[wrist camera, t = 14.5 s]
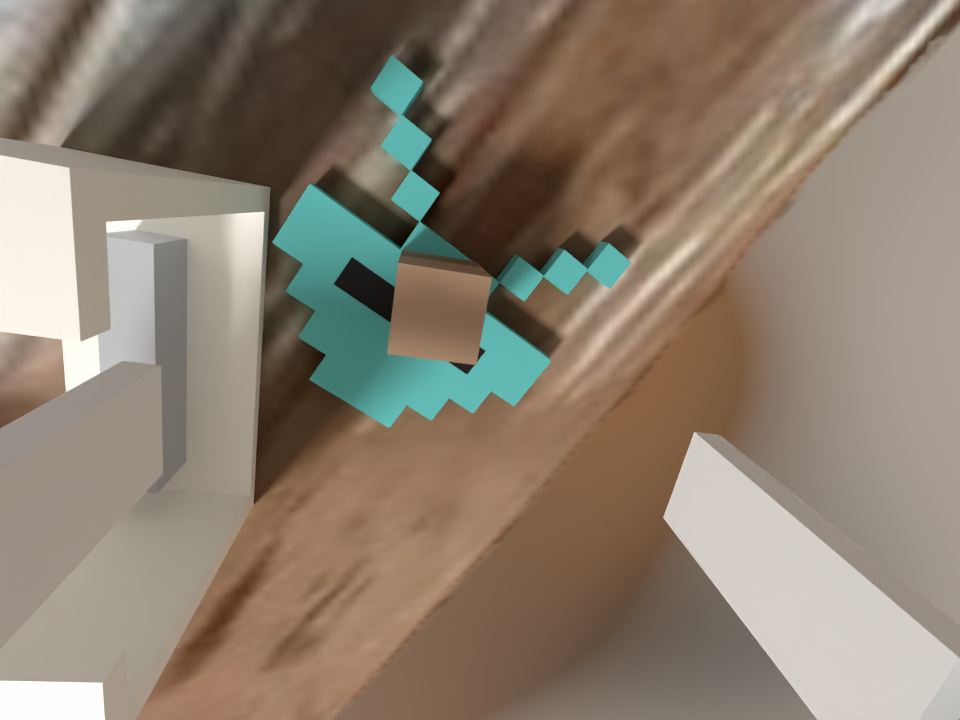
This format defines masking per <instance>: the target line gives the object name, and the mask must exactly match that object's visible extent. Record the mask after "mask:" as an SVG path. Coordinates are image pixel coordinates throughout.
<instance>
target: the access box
mask: <svg viewBox="0 0 960 720" xmlns="http://www.w3.org/2000/svg"><path fill="white" fill-rule="evenodd" d="M270 188H271V187H266V186H261V185H256V184H251V183H246V182H240V181H235V180H230V179H225V178H219V177H214V176H209V175H204V174H199V173H193V172H188V171H183V170H178V169H172V168H167V167H162V166H157V165H152V164H146V163H141V162H136V161H131V160H126V159H120V158H115V157H110V156H105V155H99V154H94V153H89V152H84V151H79V150H73V149H68V148H63V147H57V146H51V145H44V144H37V143H31V142H24V141H18V140H11V139H5V138H0V331H1V332H9V333H16V334H24V335H32V336H40V337H47V338H55V339H62V345H63V358H64V371H65V384H66V392H67V391H69V390H71V389H73V388H74V387H76V386H78V385H80V384H82V383H83V382H85V381H87V380H89V379H91V378H93V377H94V376H96V375H98V374H100V373H102V372H103V371H105V370H107V369H109V368H111V367H112V366H114V365H116V364H118V363H120V362H121V361H128V362H136V363H144V364H152V365H160V366H161V390H162V449H163V474H162V475H161V476H160V477H159V478H158V480H157V481H156V482H155V483H154V484H153V485H152V486H151V487H150V488H149V489H148V490H147V491H146V492H145V494H144V495H143V496H142V497H141V498H140V499H139V500H138V501H137V502H136V503H135V504H134V505H133V507H132V508H131V509H130V510H129V511H128V512H127V513H126V514H125V515H124V516H123V517H122V518H121V519H120V521H119V522H118V523H117V524H116V525H115V526H114V527H113V528H112V529H111V530H110V531H109V532H108V534H107V535H106V536H105V537H104V538H103V539H102V540H101V541H100V542H99V543H98V544H97V545H96V546H95V548H94V549H93V550H92V551H91V552H90V553H89V554H88V555H87V556H86V557H85V558H84V559H83V561H82V562H81V563H80V564H79V565H78V566H77V567H76V568H75V569H74V570H73V571H72V572H71V573H70V575H69V576H68V577H67V578H66V579H65V580H64V581H63V582H62V583H61V584H60V585H59V586H58V588H57V589H56V590H55V591H54V592H53V593H52V594H51V595H50V596H49V597H48V598H47V599H46V600H45V602H44V603H43V604H42V605H41V606H40V607H39V608H38V609H37V610H36V611H35V612H34V613H33V615H32V616H31V617H30V618H29V619H28V620H27V621H26V622H25V623H24V624H23V625H22V626H21V628H20V629H19V630H18V631H17V632H16V633H15V634H14V635H13V636H12V637H11V638H10V639H9V640H8V642H7V643H6V644H5V645H4V646H3V647H2V648H1V649H0V720H136V719H137V717H138V715H139V713H140V712H141V710H142V708H143V706H144V704H145V702H146V701H147V699H148V697H149V695H150V693H151V691H152V690H153V688H154V686H155V684H156V682H157V681H158V679H159V677H160V675H161V673H162V671H163V670H164V668H165V666H166V664H167V662H168V660H169V659H170V657H171V655H172V653H173V651H174V649H175V648H176V646H177V644H178V642H179V640H180V639H181V637H182V635H183V633H184V631H185V629H186V628H187V626H188V624H189V622H190V620H191V618H192V617H193V615H194V613H195V611H196V609H197V607H198V606H199V604H200V602H201V600H202V598H203V597H204V595H205V593H206V591H207V589H208V587H209V586H210V584H211V582H212V580H213V578H214V576H215V575H216V573H217V571H218V569H219V567H220V565H221V564H222V562H223V560H224V558H225V556H226V554H227V553H228V551H229V549H230V547H231V545H232V544H233V542H234V540H235V538H236V536H237V534H238V533H239V531H240V529H241V527H242V525H243V523H244V522H245V520H246V518H247V516H248V514H249V512H250V511H251V509H252V507H253V505H254V488H255V469H256V450H257V432H258V413H259V394H260V375H261V357H262V338H263V319H264V300H265V282H266V263H267V244H268V225H269V207H270Z"/></svg>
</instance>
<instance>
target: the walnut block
mask: <svg viewBox="0 0 960 720" xmlns="http://www.w3.org/2000/svg"><path fill="white" fill-rule="evenodd" d="M491 281H492V277H491V276H490V275H489V274H488V273H487V272H486V271H485V270H484V269H483V268H482V267H481V265H480V264H479V263H478V262H475V261H469V260H463V259H457V258H450V257H444V256H438V255H432V254H426V253H420V252H413V251H407V250H402V252H401V255H400V258H399V261H398V266H397V275H396V283H395V292H394V300H393V309H392V317H391V326H390V334H389V342H388V351H387V354H391V355H399V356H407V357H415V358H423V359H431V360H439V361H447V362H455V363H463V364H471V365H477V359H478V354H479V348H480V342H481V337H482V331H483V326H484V320H485V314H486V309H487V303H488V298H489V292H490V286H491Z"/></svg>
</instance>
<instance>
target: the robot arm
mask: <svg viewBox="0 0 960 720" xmlns="http://www.w3.org/2000/svg"><path fill="white" fill-rule="evenodd" d="M162 474H163V449H162V390H161V366H160V365H152V364H144V363H136V362H128V361H121V362H120V363H118V364H116V365H114V366H112V367H111V368H109V369H107V370H105V371H103V372H102V373H100V374H98V375H96V376H94V377H93V378H91V379H89V380H87V381H85V382H83V383H82V384H80V385H78V386H76V387H74V388H73V389H71V390H69V391H67V392H65V393H64V394H62V395H60V396H58V397H56V398H54V399H53V400H51V401H49V402H47V403H45V404H44V405H42V406H40V407H38V408H36V409H35V410H33V411H31V412H29V413H27V414H26V415H24V416H22V417H20V418H18V419H16V420H15V421H13V422H11V423H9V424H7V425H6V426H4V427H2V428H0V649H1V648H2V647H3V646H4V645H5V644H6V643H7V642H8V640H9V639H10V638H11V637H12V636H13V635H14V634H15V633H16V632H17V631H18V630H19V629H20V628H21V626H22V625H23V624H24V623H25V622H26V621H27V620H28V619H29V618H30V617H31V616H32V615H33V613H34V612H35V611H36V610H37V609H38V608H39V607H40V606H41V605H42V604H43V603H44V602H45V600H46V599H47V598H48V597H49V596H50V595H51V594H52V593H53V592H54V591H55V590H56V589H57V588H58V586H59V585H60V584H61V583H62V582H63V581H64V580H65V579H66V578H67V577H68V576H69V575H70V573H71V572H72V571H73V570H74V569H75V568H76V567H77V566H78V565H79V564H80V563H81V562H82V561H83V559H84V558H85V557H86V556H87V555H88V554H89V553H90V552H91V551H92V550H93V549H94V548H95V546H96V545H97V544H98V543H99V542H100V541H101V540H102V539H103V538H104V537H105V536H106V535H107V534H108V532H109V531H110V530H111V529H112V528H113V527H114V526H115V525H116V524H117V523H118V522H119V521H120V519H121V518H122V517H123V516H124V515H125V514H126V513H127V512H128V511H129V510H130V509H131V508H132V507H133V505H134V504H135V503H136V502H137V501H138V500H139V499H140V498H141V497H142V496H143V495H144V494H145V492H146V491H147V490H148V489H149V488H150V487H151V486H152V485H153V484H154V483H155V482H156V481H157V480H158V478H159V477H160V476H161V475H162ZM664 519H665V520H666V522H667V523H668V524H669V526H670V527H671V528H672V530H673V531H674V532H675V534H676V535H677V536H678V537H679V539H680V540H681V541H682V543H683V544H684V545H685V547H686V548H687V549H688V551H689V552H690V553H691V555H692V556H693V557H694V558H695V560H696V561H697V562H698V564H699V565H700V566H701V567H702V569H703V570H704V572H705V573H706V574H707V575H708V577H709V578H710V579H711V581H712V582H713V583H714V585H715V586H716V587H717V589H718V590H719V591H720V592H721V594H722V595H723V596H724V598H725V599H726V600H727V602H728V603H729V604H730V606H731V607H732V608H733V610H734V611H735V612H736V614H737V615H738V616H739V617H740V619H741V620H742V621H743V623H744V624H745V625H746V627H747V628H748V629H749V630H750V632H751V633H752V634H753V636H754V637H755V638H756V640H757V641H758V642H759V644H760V645H761V646H762V648H763V649H764V650H765V652H766V653H767V654H768V655H769V657H770V658H771V659H772V661H773V662H774V663H775V664H776V666H777V667H778V669H779V670H780V671H781V672H782V674H783V675H784V676H785V678H786V679H787V680H788V682H789V683H790V684H791V686H792V687H793V688H794V689H795V691H796V692H797V693H798V695H799V696H800V697H801V699H802V700H803V701H804V703H805V704H806V705H807V707H808V708H809V709H810V710H811V712H812V713H813V714H814V716H815V717H816V718H817V720H960V625H959V624H958V623H956V622H955V621H954V620H952V619H951V618H950V617H949V616H948V615H946V614H945V613H944V612H943V611H941V610H940V609H939V608H937V607H936V606H935V605H934V604H933V603H931V602H930V601H929V600H927V599H926V598H925V597H924V596H922V595H921V594H920V593H918V592H917V591H916V590H915V589H913V588H912V587H911V586H910V585H908V584H907V583H906V582H905V581H903V580H902V579H901V578H900V577H898V576H897V575H896V574H895V573H893V572H892V571H891V570H889V569H888V568H887V567H886V566H884V565H883V564H882V563H881V562H879V561H878V560H877V559H876V558H874V557H873V556H872V555H871V554H869V553H868V552H867V551H865V550H864V549H863V548H862V547H860V546H859V545H858V544H857V543H855V542H854V541H853V540H852V539H850V538H849V537H848V536H847V535H845V534H844V533H843V532H841V531H840V530H839V529H838V528H836V527H835V526H834V525H833V524H831V523H830V522H829V521H828V520H826V519H825V518H824V517H822V516H821V515H820V514H819V513H817V512H816V511H815V510H813V509H812V508H811V507H810V506H809V505H807V504H806V503H805V502H804V501H802V500H801V499H800V498H799V497H797V496H796V495H795V494H793V493H792V492H791V491H790V490H788V489H787V488H786V487H785V486H783V485H782V484H781V483H780V482H778V481H777V480H776V479H774V478H773V477H772V476H771V475H769V474H768V473H767V472H765V471H764V470H763V469H762V468H760V467H759V466H758V465H757V464H755V463H754V462H753V461H752V460H750V459H749V458H748V457H747V456H745V455H744V454H743V453H742V452H740V451H739V450H738V449H736V448H735V447H734V446H733V445H731V444H730V443H729V442H728V441H726V440H725V439H724V438H723V437H721V436H720V435H715V434H707V433H699V432H694V434H693V437H692V440H691V443H690V446H689V449H688V451H687V454H686V457H685V459H684V462H683V465H682V468H681V470H680V474H679V476H678V479H677V482H676V484H675V487H674V490H673V493H672V496H671V498H670V501H669V504H668V507H667V510H666V512H665V515H664Z"/></svg>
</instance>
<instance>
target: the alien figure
mask: <svg viewBox="0 0 960 720" xmlns="http://www.w3.org/2000/svg"><path fill="white" fill-rule="evenodd" d="M422 89H423V81H422V80H420V79H419V78H418V77H417V76H416V75H415V74H414V73H412V72H411V71H410V70H409V69H408V68H407V67H405V66H404V65H403V64H402V63H401V62H400V61H399V60H397V59H396V58H395V57H394V56H393V55H391V57H390V58H389V60H388V62H387V63H386V65H385V66H384V68H383V69H382V71H381V73H380V74H379V76H378V77H377V79H376V80H375V82H374V84H373V85H372V87H371V91H372V93H373V95H375V96H376V97H377V98H378V99H380V100H381V101H382V102H383V103H384V104H386V105H387V106H388V107H389V108H390V109H392V110H393V111H394V112H395V113H396V114H398V115H399V116H400V118H399V120H398V121H397V123H396V124H395V126H394V127H393V129H392V130H391V132H390V133H389V135H388V136H387V138H386V139H385V141H384V142H383V144H382V145H381V147H382V148H383V149H384V150H385V151H386V152H388V153H389V154H390V155H391V156H393V157H394V158H395V159H396V160H398V161H399V162H400V163H401V164H403V165H404V166H405V167H407V168H408V169H409V170H410V172H409V174H408V175H407V177H406V178H405V180H404V181H403V183H402V184H401V186H400V187H399V188H398V190H397V191H396V193H395V194H394V196H393V197H392V199H391V200H392V201H393V202H395V203H396V204H397V205H398V206H400V207H401V208H402V209H404V210H405V211H406V212H408V213H409V214H410V215H412V216H413V217H414V218H415V219H417V220H418V221H419V223H418V224H417V226H416V227H415V228H414V230H413V231H412V233H411V234H410V236H409V237H408V238H407V240H406V241H405V243H404V244H403V245H402V247H399V246H398V245H397V244H395V243H394V242H393V241H391V240H390V239H389V238H387V237H386V236H385V235H383V234H382V233H380V232H379V231H378V230H376V229H375V228H374V227H372V226H371V225H370V224H368V223H367V222H365V221H364V220H363V219H361V218H360V217H359V216H357V215H356V214H355V213H353V212H352V211H351V210H349V209H348V208H346V207H345V206H344V205H342V204H341V203H340V202H338V201H337V200H336V199H334V198H333V197H331V196H330V195H329V194H327V193H326V192H325V191H323V190H322V189H321V188H319V187H318V186H317V185H315V184H309V186H308V187H307V189H306V190H305V192H304V193H303V195H302V196H301V198H300V200H299V201H298V203H297V204H296V206H295V207H294V209H293V211H292V212H291V214H290V215H289V217H288V218H287V220H286V222H285V223H284V225H283V226H282V228H281V229H280V231H279V233H278V234H277V236H276V237H275V239H274V240H273V242H272V243H273V244H275V245H276V246H278V247H279V248H281V249H282V250H284V251H285V252H287V253H288V254H289V255H291V256H292V257H294V258H295V259H297V260H298V261H300V262H301V263H303V265H302V267H301V268H300V270H299V271H298V273H297V274H296V276H295V277H294V279H293V280H292V282H291V283H290V285H289V286H288V288H287V289H286V291H285V292H287V293H288V294H290V295H291V296H293V297H295V298H296V299H298V300H299V301H301V302H302V303H304V304H305V305H307V306H308V307H310V308H311V309H313V310H315V312H314V313H313V315H312V316H311V318H310V319H309V321H308V322H307V324H306V325H305V327H304V328H303V330H302V331H301V333H300V334H299V336H298V338H300V339H301V340H303V341H305V342H306V343H308V344H309V345H311V346H313V347H314V348H316V349H317V350H319V351H321V352H322V353H324V354H325V357H324V358H323V360H322V361H321V363H320V364H319V365H318V367H317V368H316V370H315V371H314V373H313V374H312V376H311V377H310V379H309V380H310V381H312V382H314V383H315V384H317V385H319V386H320V387H322V388H324V389H325V390H327V391H329V392H330V393H332V394H334V395H335V396H337V397H339V398H340V399H342V400H344V401H345V402H347V403H349V404H350V405H352V406H353V407H355V408H357V409H358V410H360V411H362V412H363V413H365V414H367V415H368V416H370V417H372V418H373V419H375V420H377V421H378V422H380V423H382V424H383V425H385V426H387V427H388V428H390V426H391V425H392V424H393V422H394V421H395V420H396V419H397V417H398V416H399V415H400V413H401V412H402V411H403V409H404V408H405V407H406V405H407V406H409V407H410V408H412V409H413V410H415V411H417V412H418V413H420V414H421V415H423V416H425V417H426V418H428V419H429V420H431V421H432V419H433V418H434V417H435V416H436V414H437V413H438V412H439V410H440V409H441V408H442V407H443V405H444V404H445V403H446V401H447V400H448V399H449V398H450V399H451V400H453V401H454V402H456V403H457V404H459V405H461V406H462V407H464V408H465V409H467V410H468V411H470V412H471V413H474V412H475V411H476V409H477V408H478V407H479V406H480V404H481V403H482V402H483V401H484V399H485V398H486V397H487V396H488V394H489V393H490V392H491V391H492V392H493V393H495V394H496V395H498V396H499V397H501V398H502V399H504V400H505V401H507V402H508V403H510V404H511V405H513V406H515V405H516V404H517V402H518V401H519V400H520V399H521V398H522V396H523V395H524V394H525V393H526V391H527V390H528V389H529V388H530V387H531V385H532V384H533V383H534V382H535V380H536V379H537V378H538V377H539V376H540V374H541V373H542V372H543V371H544V369H545V368H546V367H547V366H548V364H549V363H550V362H551V360H550V358H549V357H548V356H547V355H546V354H545V353H544V352H542V351H541V350H540V349H538V348H537V347H535V346H534V345H533V344H531V343H530V342H529V341H527V340H526V339H525V338H523V337H522V336H521V335H519V334H518V333H516V332H515V331H514V330H512V329H511V328H510V327H508V326H507V325H506V324H504V323H503V322H501V321H500V320H499V319H497V318H496V317H495V316H493V315H492V314H491V313H489V312H488V311H487V310H486V314H485V320H484V326H483V331H482V337H481V342H480V348H479V354H478V359H477V365H471V364H463V363H455V362H447V361H439V360H431V359H423V358H415V357H407V356H399V355H391V354H387V351H388V342H389V334H390V326H391V317H392V309H393V300H394V292H395V283H396V275H397V266H398V261H399V258H400V255H401V252H402V250H407V251H413V252H420V253H426V254H432V255H438V256H444V257H450V258H457V259H463V260H469V261H472V260H470V259H469V258H468V257H466V256H465V255H464V254H462V253H461V252H460V251H459V250H457V249H456V248H455V247H453V246H452V245H451V244H449V243H448V242H447V241H445V240H444V239H443V238H442V237H440V236H439V235H438V234H436V233H435V232H434V231H432V230H431V229H430V228H428V227H427V226H426V225H425V224H423V223H422V222H421V219H422V218H423V216H424V215H425V213H426V212H427V211H428V209H429V208H430V206H431V205H432V204H433V202H434V201H435V199H436V198H437V196H438V195H439V194H440V193H439V192H438V191H437V190H436V189H434V188H433V187H432V186H431V185H429V184H428V183H427V182H426V181H424V180H423V179H422V178H421V177H419V176H418V175H417V174H416V173H414V172H413V171H412V170H413V169H414V167H415V166H416V164H417V163H418V161H419V160H420V158H421V157H422V155H423V154H424V152H425V151H426V150H427V148H428V147H429V145H430V144H431V142H432V139H431V138H430V137H428V136H427V135H426V134H425V133H424V132H422V131H421V130H420V129H419V128H418V127H416V126H415V125H414V124H413V123H412V122H410V121H409V120H408V119H407V118H406V117H404V116H405V115H406V113H407V112H408V110H409V109H410V107H411V106H412V104H413V103H414V101H415V100H416V98H417V96H418V95H419V93H420V92H421V90H422ZM630 264H631V262H630V261H629V260H628V259H627V258H626V257H624V256H623V255H622V254H621V253H620V252H619V251H617V250H616V249H615V248H614V247H613V246H612V245H611V244H609V243H606V242H602V241H600V243H599V244H598V245H597V246H596V248H595V249H594V250H593V251H592V253H591V254H590V255H589V257H588V258H587V259H586V260H585V262H584V263H583V264H581V263H580V262H579V261H578V260H576V259H575V258H574V257H573V256H572V255H570V254H569V253H568V252H567V251H566V250H564V249H561V248H557V250H556V251H555V252H554V254H553V255H552V256H551V257H550V259H549V260H548V261H547V263H546V264H545V265H544V267H543V268H542V269H541V270H540V272H539V271H537V270H536V269H535V268H533V267H532V266H531V265H530V264H528V263H527V262H526V261H525V260H523V259H522V258H521V257H520V256H518V255H516V254H515V255H514V256H513V258H512V259H511V260H510V262H509V263H508V264H507V265H506V267H505V268H504V269H503V271H502V272H501V273H500V275H499V276H498V277H497V279H495V278H494V277H493V276H491V275H490V274H489V273H488V274H489V275H490V276H491V277H492V281H491V286H490V292H489V296H490V295H491V293H492V292H493V291H494V290H495V288H496V287H497V286H498V284H499V283H501V284H502V285H503V286H504V287H506V288H507V289H508V290H510V291H511V292H512V293H514V294H515V295H516V296H518V297H519V298H520V299H521V300H523V301H525V300H526V299H527V297H528V296H529V295H530V294H531V292H532V291H533V290H534V288H535V287H536V286H537V285H538V283H539V282H540V281H541V279H542V278H543V277H545V278H546V279H547V280H548V281H550V282H551V283H552V284H553V285H555V286H556V287H557V288H559V289H560V290H561V291H563V292H564V293H566V294H567V295H568V294H569V293H570V291H571V290H572V289H573V288H574V286H575V285H576V284H577V283H578V281H579V280H580V279H581V278H582V276H583V275H584V274H585V273H586V271H587V272H588V273H589V274H591V275H592V276H593V277H594V278H595V279H597V280H598V281H599V282H600V283H601V284H603V285H605V286H607V287H609V288H611V287H612V286H613V285H614V283H615V282H616V281H617V280H618V279H619V277H620V276H621V275H622V274H623V272H624V271H625V270H626V269H627V268H628V266H629V265H630Z"/></svg>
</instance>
